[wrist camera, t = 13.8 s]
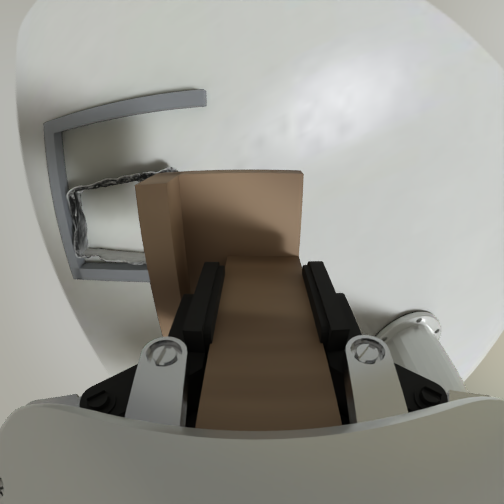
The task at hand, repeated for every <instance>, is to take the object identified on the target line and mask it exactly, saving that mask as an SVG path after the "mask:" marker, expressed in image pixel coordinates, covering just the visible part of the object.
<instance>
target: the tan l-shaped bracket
mask: <svg viewBox="0 0 504 504" xmlns="http://www.w3.org/2000/svg"><path fill="white" fill-rule="evenodd" d="M303 175H304V174H303V173H302V172H301V171H297V170H207V171H184V172H167V173H157V174H155V175H153V176H151V177H149V178H147V179H145V180H144V181H142V182H140V183H138V184H136V185H135V190H136V199H137V207H138V214H139V221H140V228H141V235H142V241H143V247H144V253H145V258H146V264H147V269H148V274H149V279H150V284H151V289H152V294H153V298H154V302H155V307H156V311H157V315H158V319H159V323H160V327H161V331H162V335H163V337H167V336H168V334H169V332H170V329H171V326H172V323H173V320H174V318H175V315H176V312H177V310H178V307H179V304H180V302H181V299H182V296H183V295H184V294H194V292H195V289H196V286H197V283H198V280H199V277H200V274H201V271H202V268H203V265H204V262H219V264H220V265H224V266H225V277H224V283H223V288H222V293H221V298H220V303H219V309H218V314H217V319H216V325H215V330H214V336H213V341H212V344H210V347H209V352H208V358H207V363H206V369H205V374H204V380H203V385H202V391H201V397H200V403H199V408H198V414H197V420H196V426H195V428H199V429H212V430H230V431H283V430H301V429H314V428H324V427H333V426H341V425H342V422H341V418H340V413H339V409H338V404H337V400H336V395H335V391H334V387H333V383H332V378H331V374H330V370H329V366H328V362H327V358H326V354H325V350H324V346H323V343H320V341H319V337H318V333H317V329H316V325H315V321H314V317H313V313H312V310H311V306H310V302H309V298H308V294H307V291H306V287H305V283H304V280H303V276H302V266H301V263H300V259H299V245H300V230H301V215H302V197H303Z"/></svg>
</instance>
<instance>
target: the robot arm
mask: <svg viewBox="0 0 504 504" xmlns="http://www.w3.org/2000/svg"><path fill="white" fill-rule="evenodd" d="M302 276H303V280H304V283H305V287H306V291H307V294H308V298H309V302H310V306H311V310H312V313H313V317H314V321H315V325H316V329H317V333H318V337H319V341H320V343H323V346H324V350H325V354H326V358H327V362H328V366H329V370H330V374H331V378H332V383H333V387H334V391H335V395H336V400H337V404H338V409H339V413H340V418H341V422H342V425H341V426H333V427H324V428H314V429H301V430H283V431H230V430H212V429H199V428H195V426H196V420H197V414H198V408H199V403H200V397H201V391H202V385H203V380H204V374H205V369H206V363H207V358H208V352H209V347H210V344H212V341H213V336H214V330H215V325H216V319H217V314H218V309H219V303H220V298H221V293H222V288H223V283H224V277H225V266H224V265H220V264H219V262H204V265H203V268H202V271H201V274H200V277H199V280H198V283H197V286H196V289H195V292H194V294H184V295H183V296H182V299H181V302H180V304H179V307H178V310H177V312H176V315H175V318H174V320H173V323H172V326H171V329H170V332H169V334H168V336H167V337H159V338H156V339H153V340H152V341H150V342H148V343H147V344H146V345H145V346H144V348H143V350H142V352H141V355H140V359H139V362H138V364H137V365H135V366H133V367H131V368H129V369H127V370H125V371H123V372H121V373H119V374H117V375H115V376H113V377H111V378H109V379H106V380H104V381H102V382H100V383H98V384H96V385H94V386H92V387H90V388H89V389H87V390H86V391H85V392H84V393H83V395H82V396H81V397H79V396H78V395H77V394H73V395H67V396H62V397H55V398H48V399H41V400H35V401H32V402H30V403H28V404H27V405H26V406H23V407H20V408H18V409H16V410H15V411H14V412H13V413H11V414H10V416H9V417H8V418H7V419H6V421H5V422H4V424H3V425H2V427H1V428H0V504H504V399H503V398H499V397H491V396H488V395H480V394H473V393H469V392H468V389H467V388H466V386H465V384H464V382H463V380H462V378H461V377H460V375H459V373H458V371H457V370H456V368H455V366H454V365H453V363H452V361H451V360H450V358H449V356H448V355H447V353H446V351H445V350H444V348H443V346H442V345H441V343H440V342H439V338H440V335H441V325H440V322H439V321H438V319H437V318H436V317H435V316H434V315H433V314H431V313H428V312H415V313H411V314H408V315H405V316H403V317H400V318H399V319H397V320H395V321H393V322H392V323H390V324H389V325H388V326H386V327H385V328H384V329H383V330H382V331H381V332H380V333H379V334H378V335H377V336H376V337H374V336H371V335H362V334H361V332H360V330H359V327H358V325H357V322H356V320H355V318H354V315H353V313H352V311H351V308H350V306H349V304H348V301H347V299H346V297H345V295H344V294H343V293H336V292H335V290H334V287H333V285H332V282H331V280H330V278H329V275H328V273H327V271H326V268H325V266H324V263H323V262H322V261H311V262H308V264H307V265H303V267H302Z"/></svg>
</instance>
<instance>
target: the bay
mask: <svg viewBox="0 0 504 504" xmlns="http://www.w3.org/2000/svg"><path fill="white" fill-rule="evenodd" d="M204 106H206V91H205V90H204V89H199V90H189V91H180V92H172V93H164V94H157V95H151V96H145V97H139V98H134V99H129V100H124V101H119V102H115V103H110V104H106V105H102V106H98V107H94V108H90V109H87V110H83V111H79V112H76V113H73V114H69V115H66V116H63V117H60V118H57V119H54V120H51V121H48V122H45V123H44V138H45V149H46V158H47V166H48V174H49V180H50V186H51V192H52V198H53V203H54V208H55V212H56V217H57V221H58V226H59V230H60V234H61V238H62V242H63V245H64V249H65V252H66V256H67V259H68V263H69V266H70V269H71V272H72V275H73V278H74V279H82V280H102V281H127V282H150V279H149V274H148V269H147V264H146V263H143V264H142V265H133V264H130V263H85V261H84V257H83V258H77V257H76V254H75V250H74V232H75V226H74V223H73V220H72V217H71V214H70V209H69V204H68V200H67V196H66V195H67V193H68V191H69V190H68V183H67V177H66V170H65V162H64V153H63V143H62V132H63V131H66V130H70V129H73V128H77V127H81V126H85V125H89V124H93V123H97V122H102V121H106V120H111V119H116V118H121V117H126V116H132V115H137V114H144V113H150V112H157V111H164V110H173V109H182V108H192V107H204Z"/></svg>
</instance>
